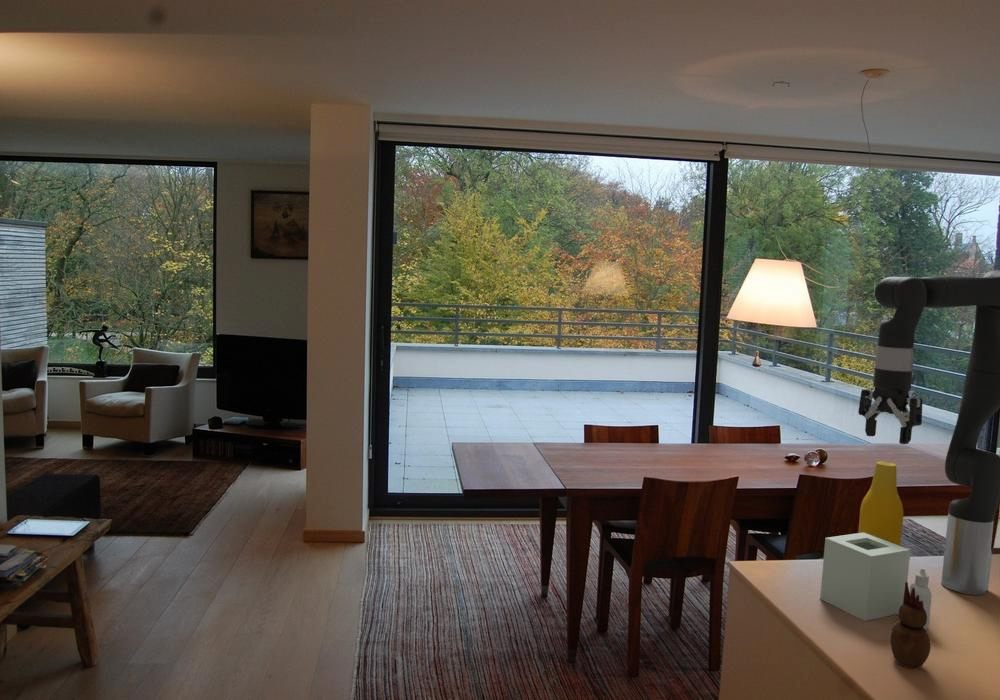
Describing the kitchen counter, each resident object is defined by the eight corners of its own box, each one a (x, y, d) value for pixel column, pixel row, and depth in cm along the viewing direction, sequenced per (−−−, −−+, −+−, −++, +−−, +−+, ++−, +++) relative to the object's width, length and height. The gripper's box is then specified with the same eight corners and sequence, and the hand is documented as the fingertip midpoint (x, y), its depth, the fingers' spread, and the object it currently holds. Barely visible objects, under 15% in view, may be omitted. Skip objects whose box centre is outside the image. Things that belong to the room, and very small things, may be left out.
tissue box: (858, 591, 183) (863, 532, 181) (904, 612, 172) (910, 549, 171) (820, 598, 178) (825, 537, 176) (865, 620, 167) (871, 556, 165)
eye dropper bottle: (930, 622, 167) (936, 567, 166) (927, 631, 163) (933, 575, 162) (907, 616, 170) (913, 562, 169) (903, 625, 165) (909, 570, 164)
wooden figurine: (882, 654, 152) (890, 578, 150) (911, 654, 152) (919, 579, 151) (903, 672, 145) (911, 593, 144) (933, 672, 146) (941, 593, 144)
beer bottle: (846, 582, 188) (857, 462, 186) (863, 573, 195) (874, 457, 192) (886, 595, 182) (898, 470, 179) (903, 585, 188) (914, 465, 185)
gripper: (934, 371, 171) (927, 445, 172) (877, 363, 183) (871, 432, 185) (910, 372, 167) (903, 447, 169) (854, 363, 180) (848, 434, 182)
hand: (886, 439), depth 177 cm, fingers open, 8 cm apart
